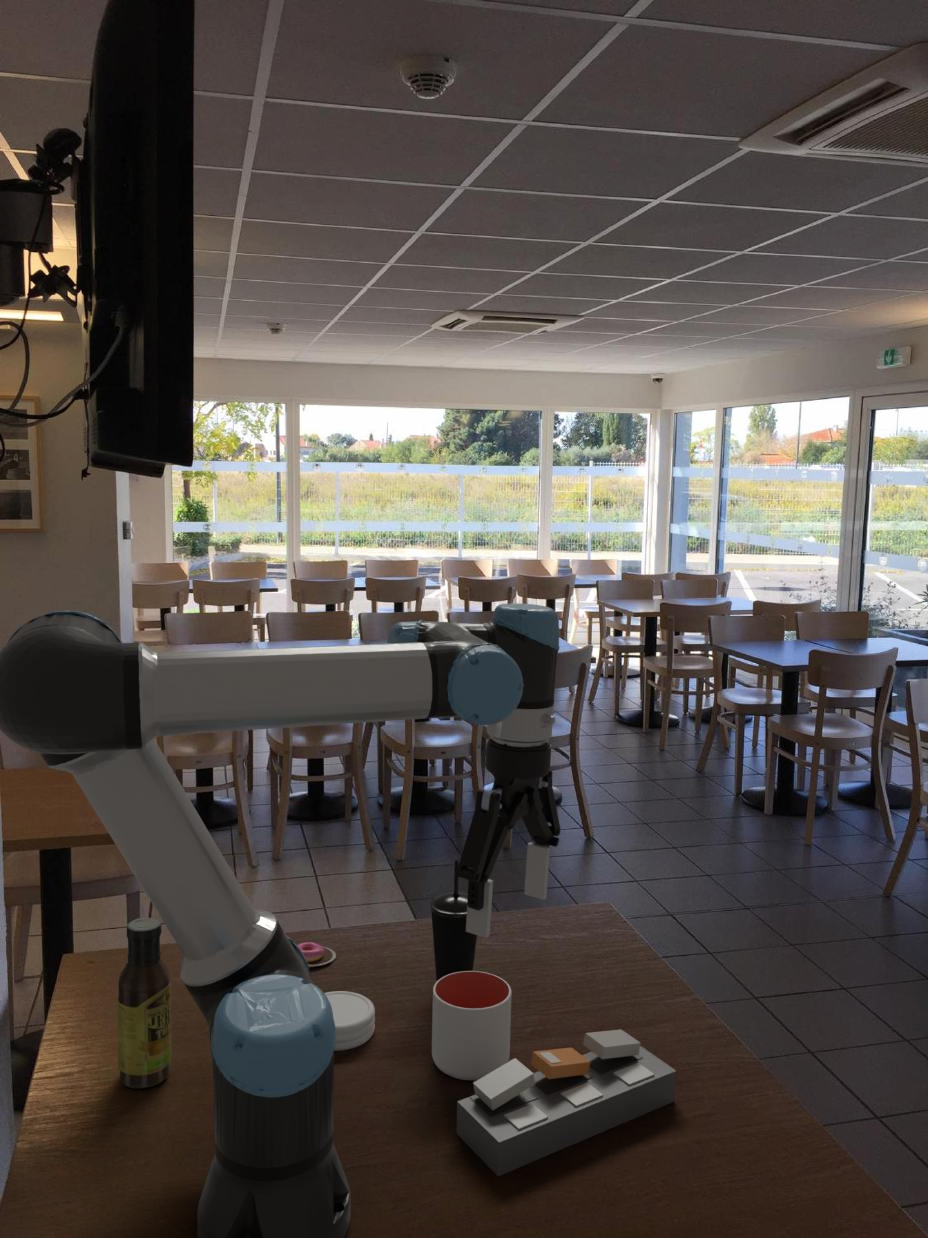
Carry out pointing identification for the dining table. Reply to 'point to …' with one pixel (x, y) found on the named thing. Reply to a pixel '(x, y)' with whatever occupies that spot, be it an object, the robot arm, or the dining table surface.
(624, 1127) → the dining table surface
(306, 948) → the donut
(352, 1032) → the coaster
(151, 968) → the sauce bottle
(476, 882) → the robot arm
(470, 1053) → the cup
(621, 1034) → the rocker
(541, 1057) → the block
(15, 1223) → the dining table surface
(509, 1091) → the block
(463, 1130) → the switch panel
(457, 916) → the drinking cup
